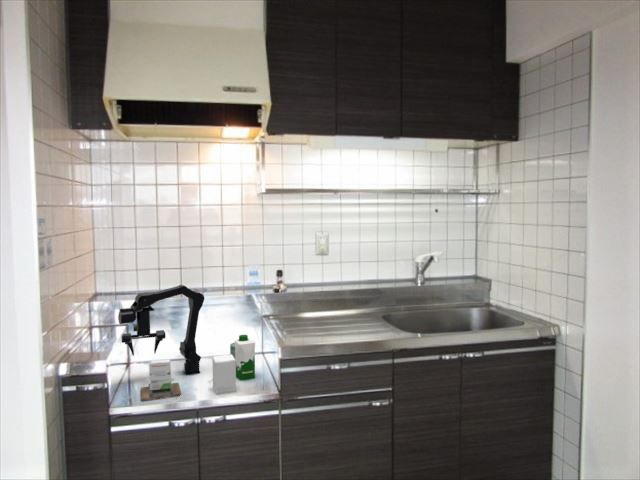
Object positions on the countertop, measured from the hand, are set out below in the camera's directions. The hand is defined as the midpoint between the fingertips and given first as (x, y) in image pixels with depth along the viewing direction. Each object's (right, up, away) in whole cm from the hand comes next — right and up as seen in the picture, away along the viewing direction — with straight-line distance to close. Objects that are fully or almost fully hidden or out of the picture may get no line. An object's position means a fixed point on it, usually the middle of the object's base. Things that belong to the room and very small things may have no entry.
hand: (144, 354), depth 216 cm
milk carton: (+46, -13, +5) cm, 48 cm away
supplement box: (+39, -14, -10) cm, 43 cm away
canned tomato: (+39, -12, +24) cm, 47 cm away
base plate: (+12, -14, -12) cm, 21 cm away
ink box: (+12, -12, -12) cm, 20 cm away
